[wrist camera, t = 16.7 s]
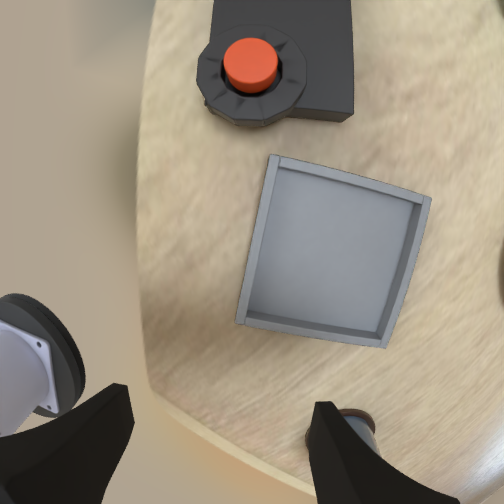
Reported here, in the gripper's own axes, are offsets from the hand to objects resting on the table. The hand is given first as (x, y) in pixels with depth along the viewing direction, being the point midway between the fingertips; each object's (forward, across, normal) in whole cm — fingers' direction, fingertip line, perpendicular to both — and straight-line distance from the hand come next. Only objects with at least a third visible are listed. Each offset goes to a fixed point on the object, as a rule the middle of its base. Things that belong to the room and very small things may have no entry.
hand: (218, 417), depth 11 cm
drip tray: (+10, -6, -4) cm, 13 cm away
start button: (+6, 0, -14) cm, 15 cm away
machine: (+10, -2, -22) cm, 24 cm away
